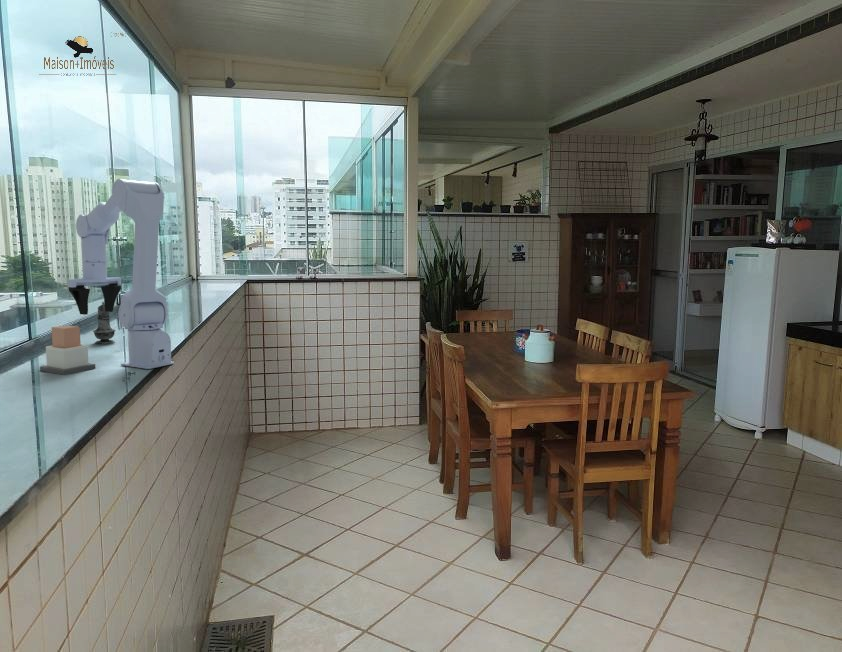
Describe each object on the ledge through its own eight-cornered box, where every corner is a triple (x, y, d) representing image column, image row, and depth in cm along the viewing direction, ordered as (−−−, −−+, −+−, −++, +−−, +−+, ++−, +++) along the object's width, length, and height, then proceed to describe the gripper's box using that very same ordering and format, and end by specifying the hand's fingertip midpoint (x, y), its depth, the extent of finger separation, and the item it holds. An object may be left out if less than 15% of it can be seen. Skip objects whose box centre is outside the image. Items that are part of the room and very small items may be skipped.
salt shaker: (120, 341, 181) (118, 301, 179) (108, 344, 175) (106, 303, 173) (101, 340, 181) (99, 300, 180) (88, 344, 175) (86, 302, 174)
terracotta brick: (80, 347, 142) (79, 326, 142) (64, 350, 139) (63, 328, 138) (68, 346, 144) (67, 325, 143) (52, 348, 140) (51, 327, 140)
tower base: (95, 368, 144) (94, 344, 143) (63, 374, 137) (62, 350, 136) (72, 364, 147) (71, 341, 147) (40, 370, 140) (38, 346, 139)
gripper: (107, 260, 170) (109, 309, 172) (58, 261, 157) (61, 314, 159) (125, 261, 167) (127, 311, 169) (77, 262, 154) (79, 316, 156)
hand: (96, 312), depth 164 cm, fingers open, 7 cm apart
